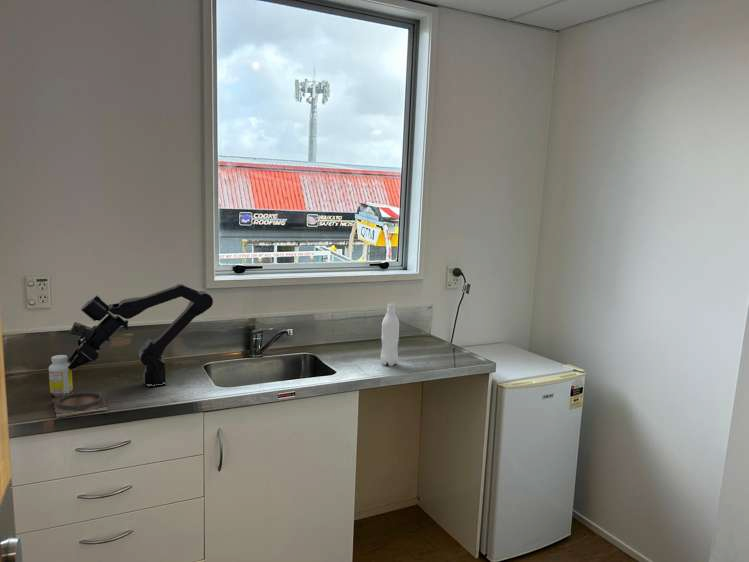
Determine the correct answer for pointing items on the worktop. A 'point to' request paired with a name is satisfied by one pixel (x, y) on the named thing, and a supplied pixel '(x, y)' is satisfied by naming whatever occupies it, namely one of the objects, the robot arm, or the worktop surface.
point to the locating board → (79, 402)
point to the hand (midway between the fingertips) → (69, 364)
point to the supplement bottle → (60, 375)
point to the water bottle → (390, 336)
